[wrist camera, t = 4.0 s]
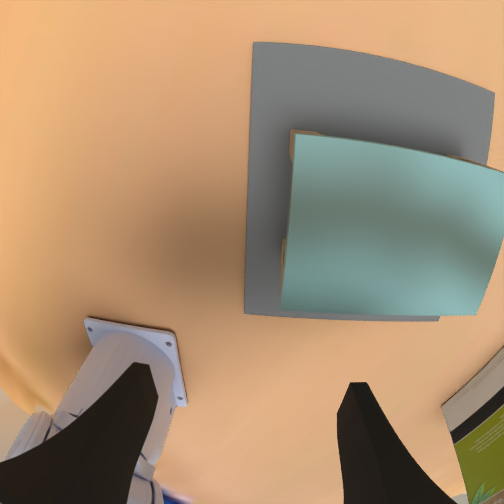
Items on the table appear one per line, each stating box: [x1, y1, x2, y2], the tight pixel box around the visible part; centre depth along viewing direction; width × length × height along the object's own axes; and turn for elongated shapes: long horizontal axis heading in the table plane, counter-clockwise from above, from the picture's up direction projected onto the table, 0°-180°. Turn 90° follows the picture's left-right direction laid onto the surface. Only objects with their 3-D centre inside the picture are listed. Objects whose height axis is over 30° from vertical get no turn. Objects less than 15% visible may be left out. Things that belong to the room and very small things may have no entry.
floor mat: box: [244, 42, 495, 321], centre depth 16 cm, size 16×14×1 cm
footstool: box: [281, 130, 504, 316], centre depth 13 cm, size 7×10×5 cm
